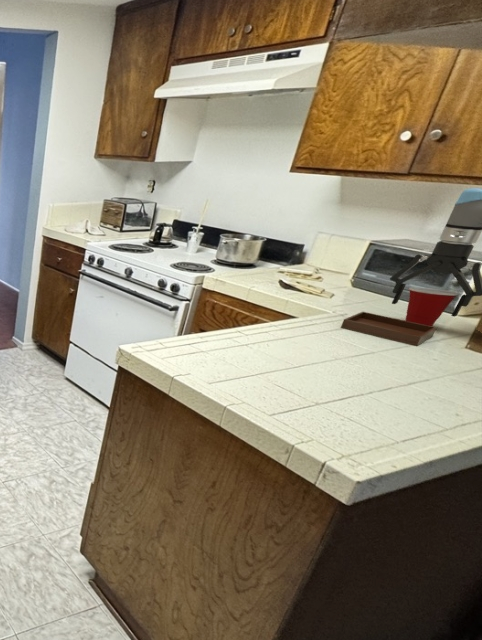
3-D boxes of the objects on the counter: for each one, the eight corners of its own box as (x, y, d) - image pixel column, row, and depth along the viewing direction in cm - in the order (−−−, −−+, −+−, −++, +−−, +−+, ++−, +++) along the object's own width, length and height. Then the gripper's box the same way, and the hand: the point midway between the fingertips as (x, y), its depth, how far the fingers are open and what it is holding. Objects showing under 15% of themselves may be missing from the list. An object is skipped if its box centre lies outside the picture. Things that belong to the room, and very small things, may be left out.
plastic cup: (419, 320, 155) (436, 285, 151) (451, 332, 145) (470, 294, 141) (384, 318, 156) (399, 283, 152) (413, 330, 146) (431, 293, 142)
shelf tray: (432, 336, 141) (437, 327, 140) (416, 346, 134) (421, 337, 132) (359, 319, 155) (362, 311, 154) (340, 327, 147) (343, 319, 146)
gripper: (396, 236, 148) (367, 300, 157) (518, 251, 129) (478, 323, 137) (403, 234, 152) (375, 297, 160) (523, 249, 133) (484, 319, 141)
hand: (423, 309), depth 149 cm, fingers open, 13 cm apart
